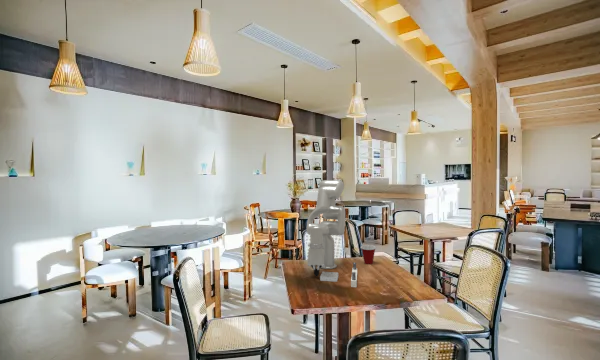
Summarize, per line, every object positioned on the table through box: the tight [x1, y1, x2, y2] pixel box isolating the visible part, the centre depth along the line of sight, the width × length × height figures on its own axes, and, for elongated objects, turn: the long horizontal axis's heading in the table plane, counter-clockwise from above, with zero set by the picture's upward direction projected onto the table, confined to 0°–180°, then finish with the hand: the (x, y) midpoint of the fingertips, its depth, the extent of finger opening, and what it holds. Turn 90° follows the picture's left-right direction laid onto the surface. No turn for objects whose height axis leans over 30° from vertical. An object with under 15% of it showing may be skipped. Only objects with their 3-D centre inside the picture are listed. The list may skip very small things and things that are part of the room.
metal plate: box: [319, 271, 339, 283], centre depth 195 cm, size 10×10×3 cm
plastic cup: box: [360, 244, 377, 265], centre depth 230 cm, size 11×11×12 cm
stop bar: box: [350, 262, 358, 288], centre depth 192 cm, size 3×26×8 cm, turn 169°
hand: (316, 275), depth 197 cm, fingers closed
